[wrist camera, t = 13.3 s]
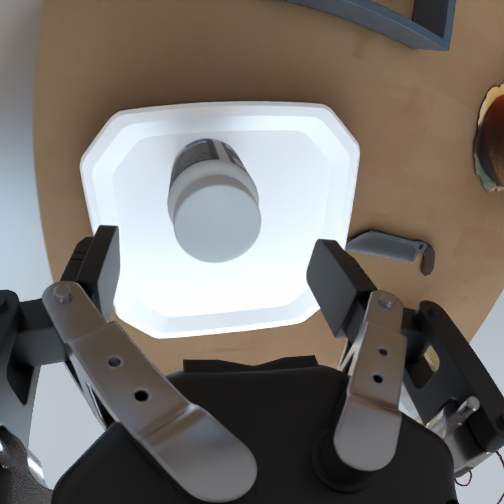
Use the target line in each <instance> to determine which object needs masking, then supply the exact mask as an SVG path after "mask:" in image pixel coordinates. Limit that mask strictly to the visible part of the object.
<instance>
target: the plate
mask: <svg viewBox="0 0 504 504" xmlns="http://www.w3.org/2000/svg"><path fill="white" fill-rule="evenodd" d="M202 138H212V139H217V140H220V141H223V142H225V143H226V144H228V145H229V146H231V147H232V148H233V149H234V151H235V152H236V153H237V155H238V156H239V158H240V160H241V162H242V163H243V165H244V167H245V168H246V170H247V171H248V173H249V175H250V176H251V178H252V180H253V181H254V183H255V185H256V188H257V191H258V197H259V206H258V207H259V210H260V214H261V229H260V233H259V236H258V238H257V240H256V241H255V243H254V244H253V246H252V247H251V248H250V249H249V250H248V251H247V252H246V253H244V254H243V255H242V256H240V257H238V258H236V259H234V260H231V261H228V262H223V263H206V262H202V261H200V260H197V259H195V258H193V257H191V256H190V255H188V254H187V253H186V252H185V251H184V250H183V249H182V248H181V247H180V245H179V243H178V242H177V239H176V237H175V233H174V226H173V224H172V222H171V219H170V216H169V213H168V206H167V200H168V194H169V186H170V179H171V172H172V166H173V162H174V160H175V158H176V156H177V154H178V153H179V151H180V150H181V149H182V148H183V147H184V146H186V145H187V144H189V143H190V142H192V141H195V140H198V139H202ZM359 158H360V148H359V144H358V142H357V141H356V140H355V138H354V137H353V136H352V134H351V133H350V132H349V131H348V129H347V128H346V127H345V125H344V124H343V123H342V122H341V120H340V119H339V118H338V117H337V115H336V114H335V113H334V112H333V110H332V109H331V108H330V107H328V106H326V105H324V104H321V103H306V102H284V101H221V102H199V103H184V104H172V105H161V106H152V107H143V108H135V109H127V110H121V111H119V112H117V113H115V114H114V115H112V116H111V118H110V119H109V120H108V122H107V123H106V124H105V125H104V127H103V128H102V129H101V131H100V132H99V133H98V135H97V136H96V138H95V139H94V140H93V142H92V143H91V145H90V146H89V147H88V149H87V150H86V152H85V153H84V155H83V156H82V158H81V162H80V172H81V178H82V184H83V189H84V194H85V199H86V204H87V209H88V213H89V218H90V222H91V227H92V231H93V235H95V233H96V231H97V229H98V227H99V225H116V226H118V227H119V244H120V275H119V280H118V284H117V288H116V292H115V297H114V301H113V305H114V308H115V311H116V314H117V316H118V317H119V318H120V319H121V320H123V321H125V322H126V323H128V324H130V325H132V326H134V327H135V328H137V329H139V330H141V331H143V332H145V333H147V334H148V335H150V336H152V337H155V338H173V337H186V336H197V335H208V334H218V333H228V332H237V331H245V330H254V329H262V328H270V327H277V326H284V325H291V324H298V323H301V322H303V321H305V320H306V319H307V318H309V317H310V316H311V315H312V314H314V313H315V312H316V311H317V310H318V309H320V307H319V305H318V303H317V301H316V299H315V297H314V295H313V293H312V291H311V289H310V288H309V286H308V284H307V280H306V271H307V267H308V264H309V261H310V258H311V255H312V252H313V249H314V245H315V243H316V241H317V240H318V239H331V240H336V241H337V242H338V243H339V245H340V246H341V247H342V249H343V250H344V251H345V246H346V241H347V235H348V230H349V224H350V218H351V212H352V206H353V200H354V194H355V187H356V180H357V173H358V166H359Z"/></svg>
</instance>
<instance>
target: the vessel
mask: <svg viewBox="0 0 504 504" xmlns="http://www.w3.org/2000/svg"><path fill="white" fill-rule="evenodd" d="M478 129H479V130H478V131H477V133H478V136H477V137H476V139H475V140H474V146H475V151H474V159H476V162H475V167H476V171H475V173H476V174H477V175H479V176H480V177H481V180H482V183H483V186H484V188H485V189H486V191H491V192H493V191H494V190H495V188H497V190H498V192H500V191H501V190H504V84H502V85H501V86H500V87H499V88H498V87H492V88H491V90H490V91H488V92H487V98H486V99H485V101H484V102H483V104H482V108H481V110H480V118H479V121H478Z"/></svg>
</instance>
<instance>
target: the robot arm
mask: <svg viewBox="0 0 504 504" xmlns="http://www.w3.org/2000/svg"><path fill="white" fill-rule="evenodd" d="M119 275H120V244H119V227H118V226H116V225H99V227H98V229H97V231H96V233H95V235H94V237H85V238H84V239H83V240H81V241H80V242H79V243H78V244H77V246H76V248H75V250H74V252H73V254H72V256H71V258H70V260H69V262H68V264H67V266H66V268H65V271H64V273H63V275H62V277H61V279H60V282H56V283H54V284H52V285H51V286H49V287H48V288H46V290H45V291H44V293H43V295H42V298H40V299H37V300H31V301H24V302H20V301H19V298H18V296H17V294H16V293H15V292H13V291H10V290H0V504H459V503H458V500H457V496H456V490H455V482H454V478H458V477H461V476H462V475H464V474H465V473H467V472H468V471H470V470H471V469H473V468H474V467H476V466H477V465H479V464H480V463H481V462H483V461H484V460H485V459H487V458H488V457H489V456H491V455H492V454H493V453H495V452H496V451H497V450H499V448H501V447H502V446H504V397H503V395H502V394H501V392H500V391H499V389H498V387H497V386H496V384H495V383H494V381H493V379H492V378H491V376H490V375H489V373H488V372H487V370H486V369H485V367H484V365H483V364H482V362H481V361H480V359H479V358H478V357H477V355H476V354H475V352H474V351H473V349H472V348H471V346H470V345H469V343H468V342H467V341H466V339H465V338H464V336H463V335H462V334H461V332H460V331H459V329H458V328H457V327H456V325H455V324H454V323H453V321H452V320H451V319H450V317H449V316H448V315H447V313H446V312H445V311H444V309H443V308H441V307H440V306H439V305H437V304H436V303H434V302H431V301H422V302H420V304H419V306H418V307H417V309H416V310H413V309H408V308H403V305H402V302H401V301H400V300H399V299H398V298H397V297H396V296H395V295H393V294H391V293H389V292H387V291H383V290H378V289H377V288H376V286H375V285H374V284H373V282H372V281H371V280H370V278H369V277H368V276H367V274H366V273H364V270H363V269H362V268H361V267H360V265H359V264H358V263H357V261H356V260H355V259H354V258H353V257H352V256H350V255H349V254H348V253H346V252H345V251H344V250H343V249H342V247H341V246H340V245H339V243H338V242H337V241H336V240H331V239H318V240H317V241H316V243H315V245H314V249H313V252H312V255H311V258H310V261H309V264H308V267H307V271H306V280H307V284H308V286H309V288H310V289H311V291H312V293H313V295H314V297H315V299H316V301H317V303H318V305H319V307H320V309H321V311H322V313H323V315H324V317H325V319H326V321H327V323H328V325H329V327H330V329H331V331H332V333H333V335H334V336H335V338H341V337H347V338H348V340H347V342H346V344H345V346H344V349H343V352H342V355H341V358H340V361H339V363H338V366H337V369H334V368H331V367H328V366H323V365H318V362H317V360H316V358H315V355H311V356H298V357H285V358H281V359H278V360H274V361H271V362H267V363H264V364H260V365H256V366H250V365H244V364H238V363H233V362H227V361H222V360H183V370H179V371H175V372H172V373H169V374H167V375H165V376H164V375H163V374H162V373H161V372H160V371H159V370H158V369H157V368H156V367H155V366H154V364H153V363H152V362H151V361H150V360H149V359H148V358H147V357H146V356H145V354H144V353H143V352H142V351H141V350H140V349H139V348H138V346H137V345H136V344H135V343H134V342H133V341H132V339H131V338H130V337H129V336H128V335H127V333H126V332H125V331H124V330H123V329H122V327H121V326H120V325H119V324H118V323H117V322H116V321H112V322H109V321H110V316H111V311H112V306H113V301H114V297H115V292H116V288H117V284H118V280H119ZM430 346H432V348H433V349H434V351H435V352H436V354H437V356H438V358H439V367H438V369H437V371H436V372H435V373H434V372H433V371H432V369H431V367H430V366H429V364H428V362H427V360H426V359H425V357H424V354H425V353H426V352H427V350H428V349H429V347H430ZM57 362H63V363H64V365H65V367H66V369H67V370H68V372H69V373H70V375H71V377H72V379H73V380H74V382H75V384H76V385H77V387H78V389H79V390H80V392H81V393H82V395H83V396H84V398H85V400H86V401H87V403H88V405H89V406H90V408H91V410H92V412H93V414H94V415H95V417H96V418H97V420H98V422H99V423H100V424H101V426H102V427H103V429H104V430H105V432H104V433H103V434H102V435H101V436H100V437H99V438H98V439H97V440H96V441H95V442H94V443H93V444H92V445H91V447H90V448H89V449H88V450H87V451H86V452H85V453H84V454H83V455H82V456H81V457H80V458H79V459H78V460H77V461H76V462H75V463H74V464H73V465H72V466H71V467H70V468H69V469H68V470H67V471H66V472H65V473H64V474H63V475H62V476H61V478H60V479H59V480H58V482H57V484H56V485H55V488H54V490H51V489H49V488H48V487H47V485H46V484H45V481H44V477H43V470H42V466H41V464H40V462H39V460H38V459H37V457H36V456H35V455H34V454H33V453H32V452H31V451H30V450H29V449H28V443H29V434H30V426H31V419H32V412H33V405H34V399H35V393H36V388H37V383H38V378H39V373H40V367H41V365H46V364H52V363H57ZM402 382H403V384H404V386H405V388H406V390H407V392H408V394H409V396H410V398H411V400H412V402H413V404H414V406H415V408H416V410H417V412H418V414H419V416H420V419H421V421H422V423H423V425H424V426H423V425H422V424H420V423H419V422H417V421H415V420H414V419H412V418H411V417H409V416H408V415H406V414H405V413H403V412H402V411H400V410H399V401H400V395H401V388H402Z"/></svg>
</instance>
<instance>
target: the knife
mask: <svg viewBox="0 0 504 504" xmlns="http://www.w3.org/2000/svg"><path fill="white" fill-rule="evenodd" d="M421 244H422V245H421ZM420 245H421V247H420V248H419V246H420ZM345 250H348V251H354V252H359V253H364V254H369V255H374V256H379V257H384V258H389V259H394V260H398V261H403V262H408V263H410V262H413V261H414V260H415V258H416V257H417V255H418V254H419V253H423V254H424V260H423V264H422V269H421V272H422V273H423V274H424V275H425V276H427V275H429V274H431V272H432V270H433V268H434V259H435V252H434V250H433V248H432V247H431V245H429V244H427V243H425V242H423V241H419V240H409V239H405V238H402V237H398V236H394V235H391V234H387V233H383V232H379V231H375V230H370V231H369V232H366V233H363V234H361V235H359V236H358V237H356V238H354V239H352V240H350V241H349V242H347V243H346V246H345Z"/></svg>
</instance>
